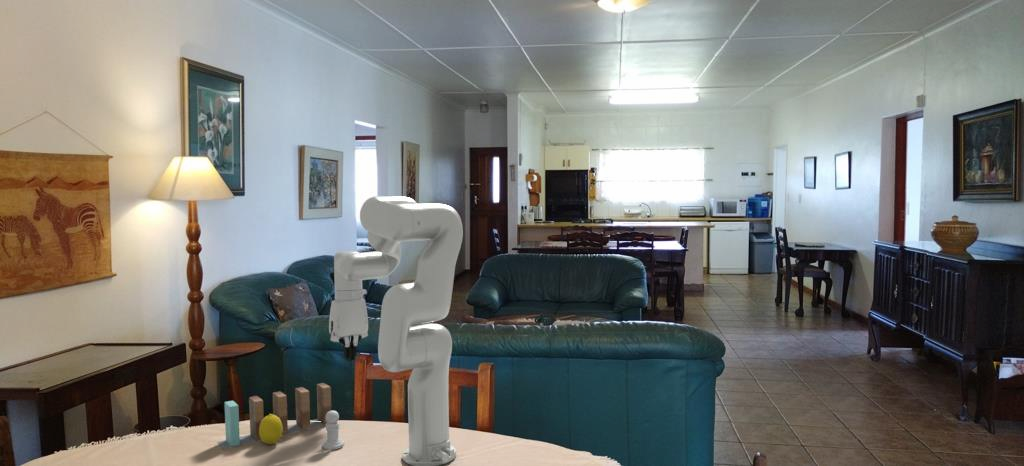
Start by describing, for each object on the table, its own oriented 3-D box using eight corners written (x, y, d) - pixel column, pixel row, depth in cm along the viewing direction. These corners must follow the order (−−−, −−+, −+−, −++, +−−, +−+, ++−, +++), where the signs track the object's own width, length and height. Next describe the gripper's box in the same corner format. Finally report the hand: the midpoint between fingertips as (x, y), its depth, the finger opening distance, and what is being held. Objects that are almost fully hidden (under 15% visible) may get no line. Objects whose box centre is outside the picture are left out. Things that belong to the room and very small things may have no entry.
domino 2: (287, 433, 168) (286, 395, 167) (280, 435, 166) (278, 397, 166) (281, 428, 172) (280, 391, 171) (273, 429, 170) (272, 392, 170)
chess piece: (320, 451, 156) (319, 414, 156) (324, 442, 162) (323, 407, 161) (342, 450, 157) (341, 413, 156) (346, 441, 162) (345, 406, 162)
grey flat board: (333, 424, 175) (333, 423, 175) (223, 450, 157) (223, 449, 157) (324, 418, 180) (324, 417, 180) (217, 443, 162) (216, 442, 162)
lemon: (275, 450, 157) (274, 418, 157) (254, 448, 158) (253, 416, 158) (287, 441, 163) (286, 410, 162) (267, 440, 164) (266, 409, 163)
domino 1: (264, 438, 164) (263, 400, 163) (256, 440, 163) (254, 402, 162) (258, 433, 168) (257, 395, 167) (250, 435, 167) (249, 397, 166)
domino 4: (331, 422, 175) (330, 386, 175) (324, 424, 174) (323, 388, 173) (324, 418, 179) (323, 382, 178) (317, 419, 178) (316, 384, 177)
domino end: (239, 444, 160) (238, 405, 160) (231, 446, 159) (229, 406, 158) (234, 438, 164) (232, 400, 164) (225, 440, 163) (224, 402, 162)
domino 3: (310, 428, 171) (309, 391, 171) (303, 429, 170) (301, 392, 170) (303, 423, 175) (302, 387, 175) (296, 424, 174) (295, 388, 174)
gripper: (367, 291, 187) (368, 353, 188) (317, 296, 178) (319, 361, 179) (379, 294, 181) (380, 358, 182) (328, 299, 172) (329, 367, 173)
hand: (349, 359), depth 181 cm, fingers closed
